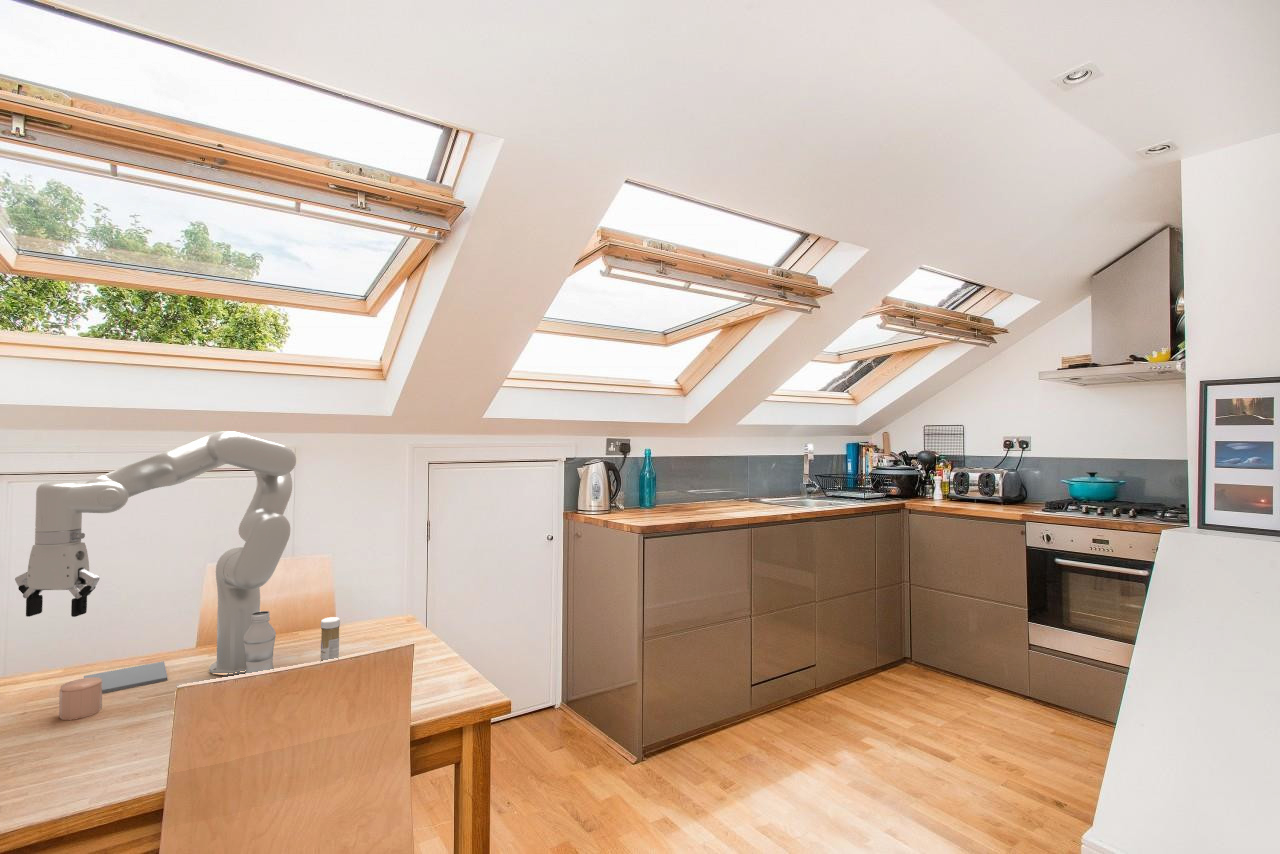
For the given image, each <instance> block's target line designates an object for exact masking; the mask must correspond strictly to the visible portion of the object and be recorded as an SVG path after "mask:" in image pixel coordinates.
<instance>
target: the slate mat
mask: <svg viewBox="0 0 1280 854" xmlns="http://www.w3.org/2000/svg"><path fill="white" fill-rule="evenodd" d="M91 677H98V678H101V679H102V694H107V693H111V692H117V691H122V690H126V688H127V689H131V687H132V688H137V687H141V686H148V685H151V684H156V683H160V682H161V681H162V682H166V681H165V680H167V681H168V673H167V669H166V665H165V661H159V662H157V661H156V662H152V663H147V664H146V663H145V664H142V665H137V666H130V667H125V668H119V669H115V670H109V671H103V672H98V673H92V674H87V675H83V678H91ZM136 686H137V687H136ZM121 689H122V690H121Z"/></svg>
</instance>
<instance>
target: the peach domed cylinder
mask: <svg viewBox="0 0 1280 854" xmlns="http://www.w3.org/2000/svg"><path fill="white" fill-rule="evenodd" d="M59 687H60V689H59V695H58V697H59V698H58V701H59V702H58V707H59V708H58V718H59V719H60V720H63V721H65V720H66V721H73V720H77V719H78V718H79V719H84V718H86V717H90V716H92V715H95V714H97V713H99V712H100V711H101V709H102V707H103V693H102V679H101V678H98V677H91V678H84V677H83V678H78V679H74V680H70V681H68V682H66V683H63V684H62V685H61V686H59ZM72 719H73V720H72ZM79 719H78V720H79Z"/></svg>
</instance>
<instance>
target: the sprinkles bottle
mask: <svg viewBox="0 0 1280 854" xmlns="http://www.w3.org/2000/svg"><path fill="white" fill-rule="evenodd" d="M340 627H341V618H339V617H337V616H330V617H329V616H328V617H324V618H323V619H321V621H320V628H321V631H320V632H321V633H320V634H321V639H320V640H321V641H320V662H321V661H323V660H328V659H334V658H338V659H339V657H340Z"/></svg>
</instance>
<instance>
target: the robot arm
mask: <svg viewBox="0 0 1280 854" xmlns="http://www.w3.org/2000/svg"><path fill="white" fill-rule="evenodd" d="M296 464H297V457H296V454H295V452H294V450H292V449H291V448H290V447H288V446H286V445H284V444H280V443H276V442H274V441H271V440H270V441H269V440H266V439H262V438H259V437H255V436H251V435H248V434H246V433H242V432H238V431H234V430H233V431H232V430H231V431H229V430H225V431H224V430H222V431H221V430H220V431H216V432H213V433H210V434H207V435H205V436H202V437H199V438H197V439H195V440H192V441H190V442H187V443H184V444H182V445H179V446H177V447H174V448H171V449H169V450H167V451H163V452H161V453H159V454H155V455H153V456H150V457H148V458H145V459H142V460H140V461H139V460H138V461H137V462H134V463H130V464H128V465H125V466H123V467H119V468H117V469H115V470H112V471H109V472H107V473H104V474H102V475H99V476H97V477H94V478H92V479H89V480H88V481H87V482H84V483H78V482H76V481H75V482H73V481H57V482H54V481H53V482H44V483H41V484H40V485H38V487H37V488H36V492H35V522H34V523H35V525H34V526H35V528H34V529H35V530H34V531H35V532H34V545H32V547H31V551H30V555H29V559H28V566H27V572H26V571H25V572H24V573H22V574H20V575H18V576H16V577H15V579H14V581H15V583H16V585H17V587H18V591H19V592H20V593H21V594H22V598H23V599H26V600H25V617H33V616H36V615H40V614H42V613H43V602H44V601H43V594H41V593H42V592H43V591H69V592H70V594H71V595H72V596H73V597H74V598H72V599H71V606H70V607H71V609H70V610H71V611H70V613H71V615H70V616H71V617H72V618H73V617H74V618H77V617H79V616H81V615H84V614H87V609H88V597H89V596H91V594H92V592H93V591H95V589H96V586H97V585H98V583H99V581H100V576H98V575H97V574H95V573H93V572H90V562H89V555H88V554H89V553H88V549H87V545H86V543H85V542H83V541H82V540H83V539H85V537H86V534H85V533H84V532H82V525H83V524H82V523H83V522H82V521H83V520H82V519H83V513H84V514H85V513H86V514H87V513H88V514H91V513H92V514H111V513H114V512H117V511H120V510H121V509H122V508H123V507H125V506H126V504H128V501H129V499H130V498H131V497H133V496H136V495H139V494H141V493H144V492H148V491H150V490H154V489H158V488H165V487H172V486H175V485H178V484H181V483H185V482H186V481H189V480H191V479H193V478H196V477H198V476H200V475H203V474H205V473H206V472H211V471H213V470H215V469H217V468H219V467H221V466H223V465H230V466H234V467H238V468H240V469H245V470H249V471H253V472H254V474H255V476H256V480H257V482H256V483H257V484H256V489H255V492H254V494H253V496H252V499H251V501H250V503H249V505H248V507H247V509H246V511H245V513H244V515H243V517H242V519H241V521H240V523H239V527H238V535H239V536H240V538H241V539H242V541H244V545H243V546H242V547H233V548H230V549H228V550H226V551H225V552H224V553H223V554H222V555H220V557H219V558H218V560H217V562H216V566H215V580H216V587H217V619H216V620H217V621H216V622H217V624H216V661H214V662H213V663H212V664H210V665H209V668H208V669H209V671H208V672H209V673H210V672H211V673H228V674H227V675H226V676H234V675H240V674H241V675H242V674H246V671H245V670H246V652H245V646H244V636H245V633H246V632H247V630H248V629H249V628H250V626H251V625H252V623H251V615H252V614H253V613H255V612H260V611H261V589H260V588H261V587H263V586H265V584H267V583H268V582H269V580H270V579H271V577H272V576H273V575H274V573H275V571H276V568H277V566H278V564H279V562H280V559H281V558H282V555H283V553H284V551H285V548H286V546H287V544H288V541H289V539H290V535H291V525H290V524H291V523H290V522H289V520H288V518H287V517H286V516H285V515H284V514H285V511H286V509H287V506H288V503H289V501H290V498H291V495H292V493H293V492H292V491H293V479H292V475H291V472H292V471H293V469H294V468H295V466H296ZM240 671H245V672H240ZM235 672H237V673H235ZM211 673H210V674H211ZM229 673H233V674H229ZM223 676H225V675H223Z"/></svg>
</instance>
